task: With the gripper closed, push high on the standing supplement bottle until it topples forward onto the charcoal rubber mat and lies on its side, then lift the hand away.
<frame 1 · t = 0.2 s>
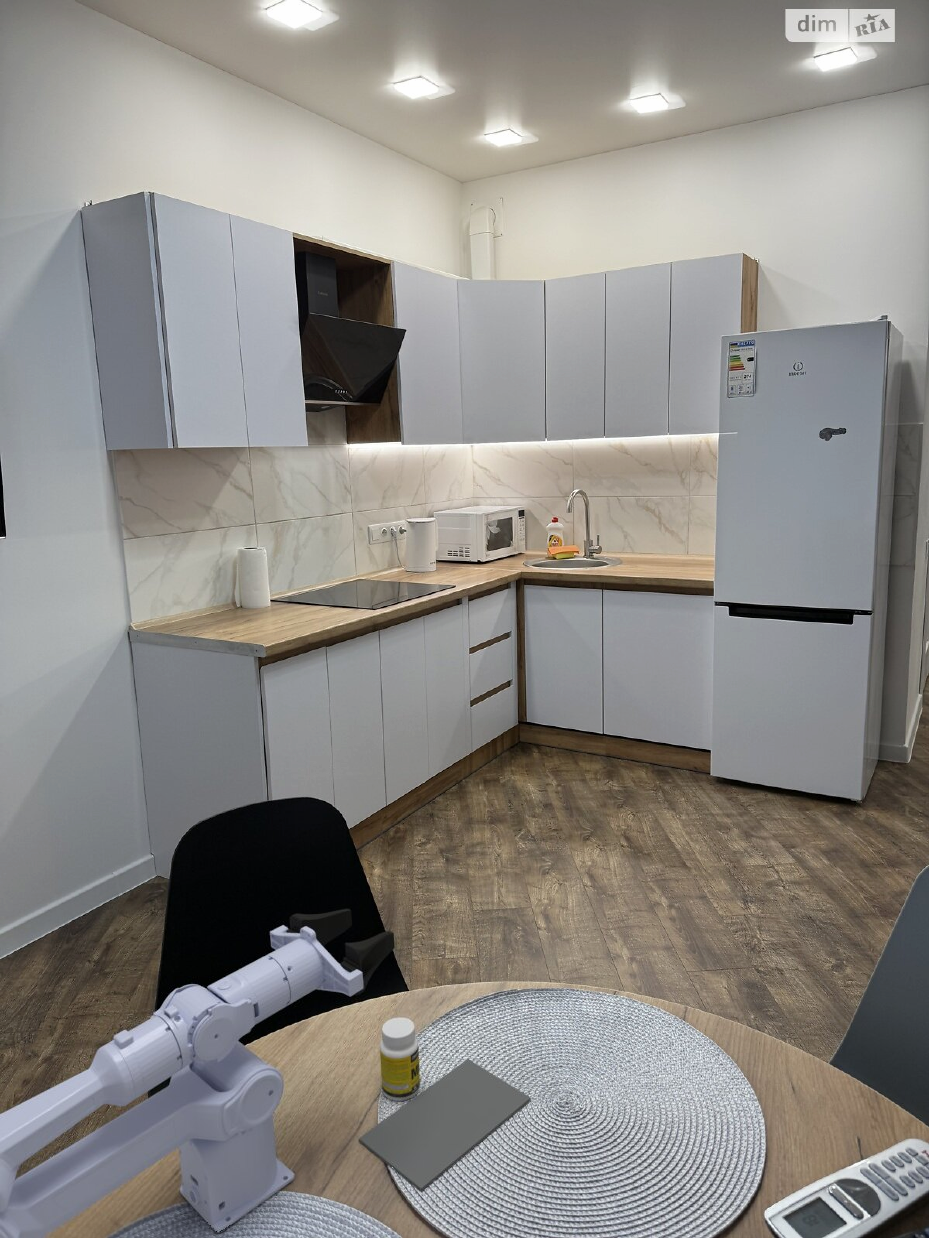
hand: (370, 927, 106), 21 cm above the table, tool horizontal, fingers open, 7 cm apart
supplement bottle: (401, 1089, 109), on the table
mat: (446, 1120, 104), on the table
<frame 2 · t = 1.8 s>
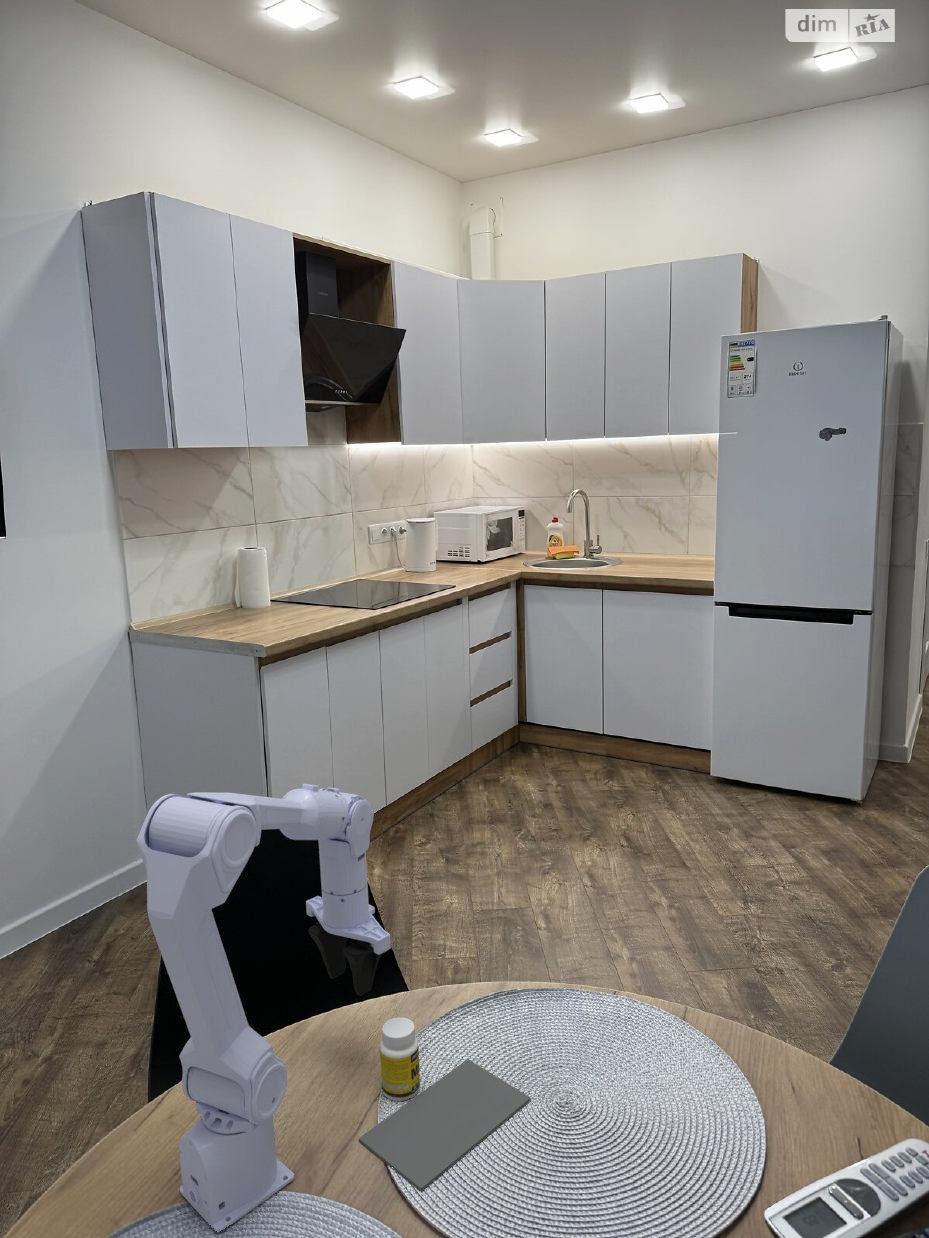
hand: (350, 983, 113), 10 cm above the table, tool pointing down, fingers open, 5 cm apart
nothing on the table moved.
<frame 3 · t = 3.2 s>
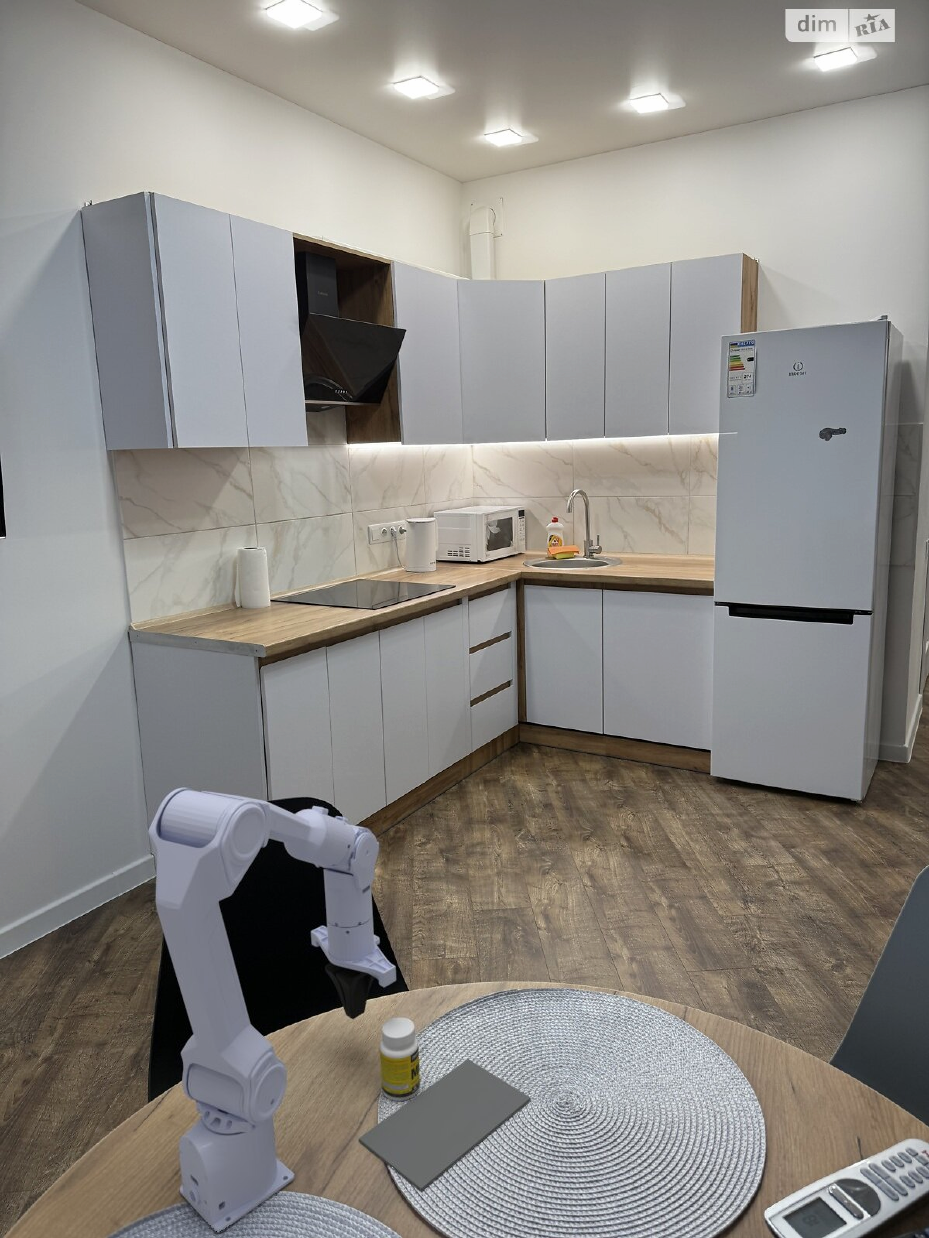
hand: (355, 1013, 114), 6 cm above the table, tool pointing down, fingers closed
nothing on the table moved.
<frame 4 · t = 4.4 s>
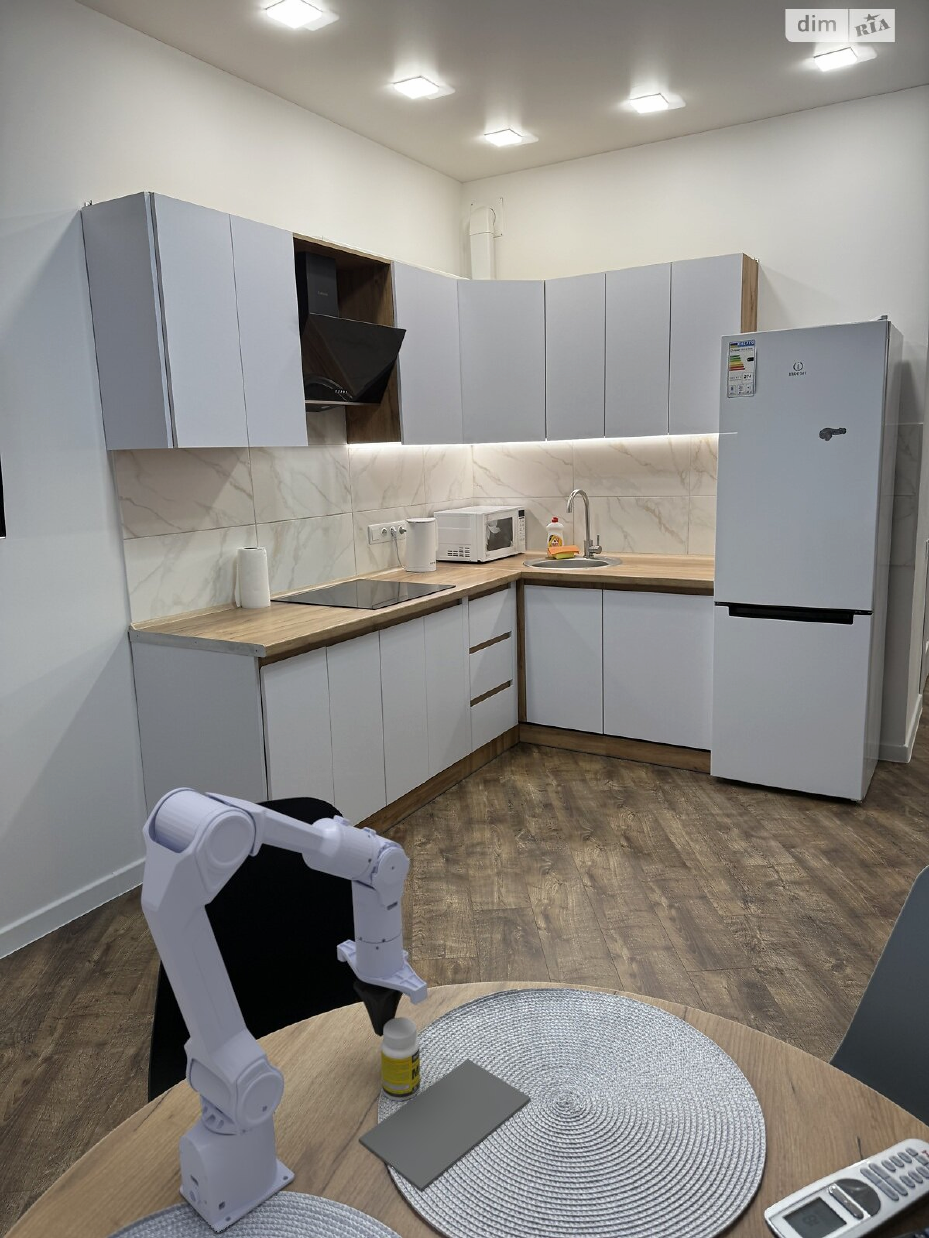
hand: (383, 1031, 110), 6 cm above the table, tool pointing down, fingers closed
supplement bottle: (401, 1089, 109), on the table, touching gripper
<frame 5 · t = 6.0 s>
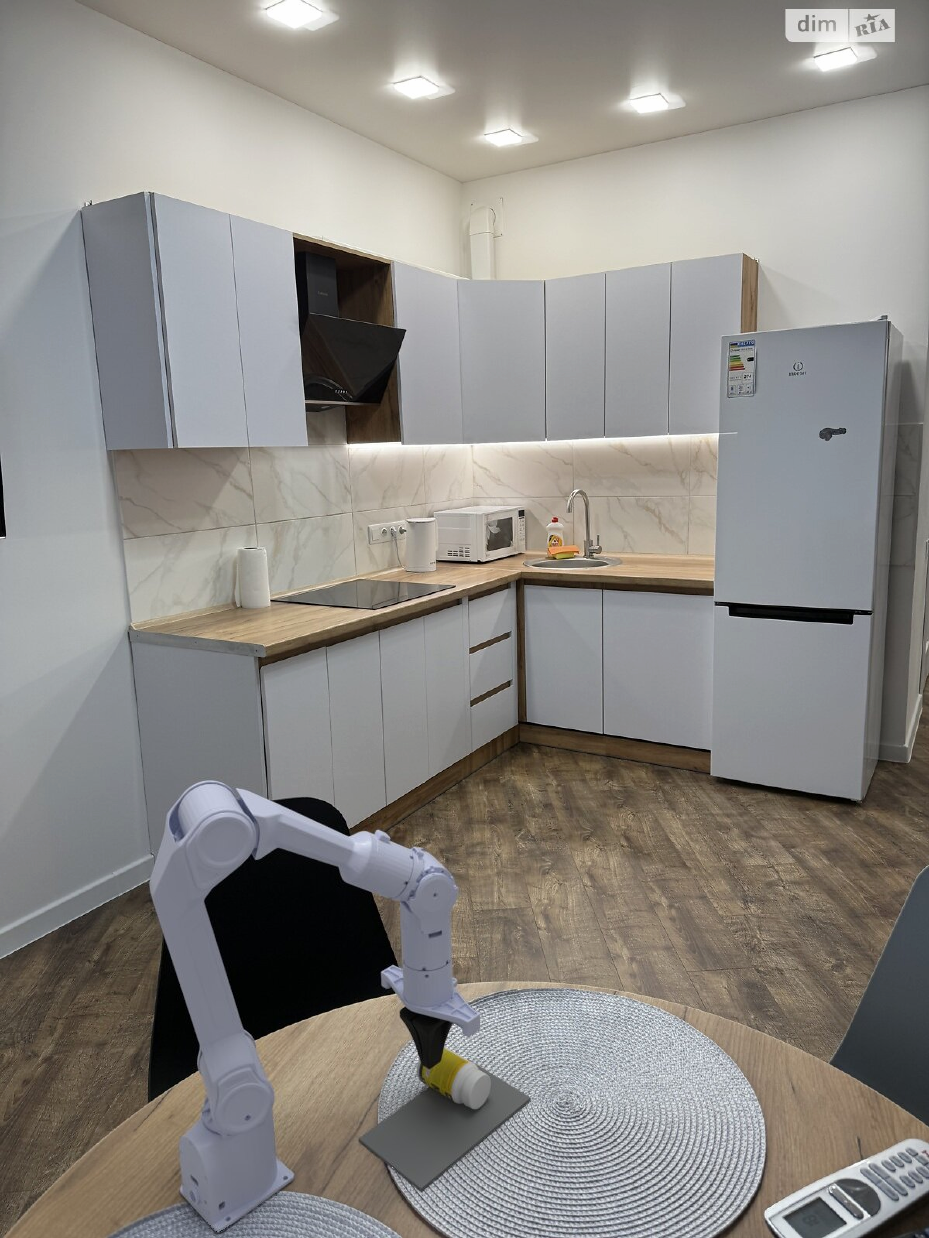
hand: (431, 1062, 104), 6 cm above the table, tool pointing down, fingers closed
supplement bottle: (427, 1060, 110), point 3 cm above the table, touching mat
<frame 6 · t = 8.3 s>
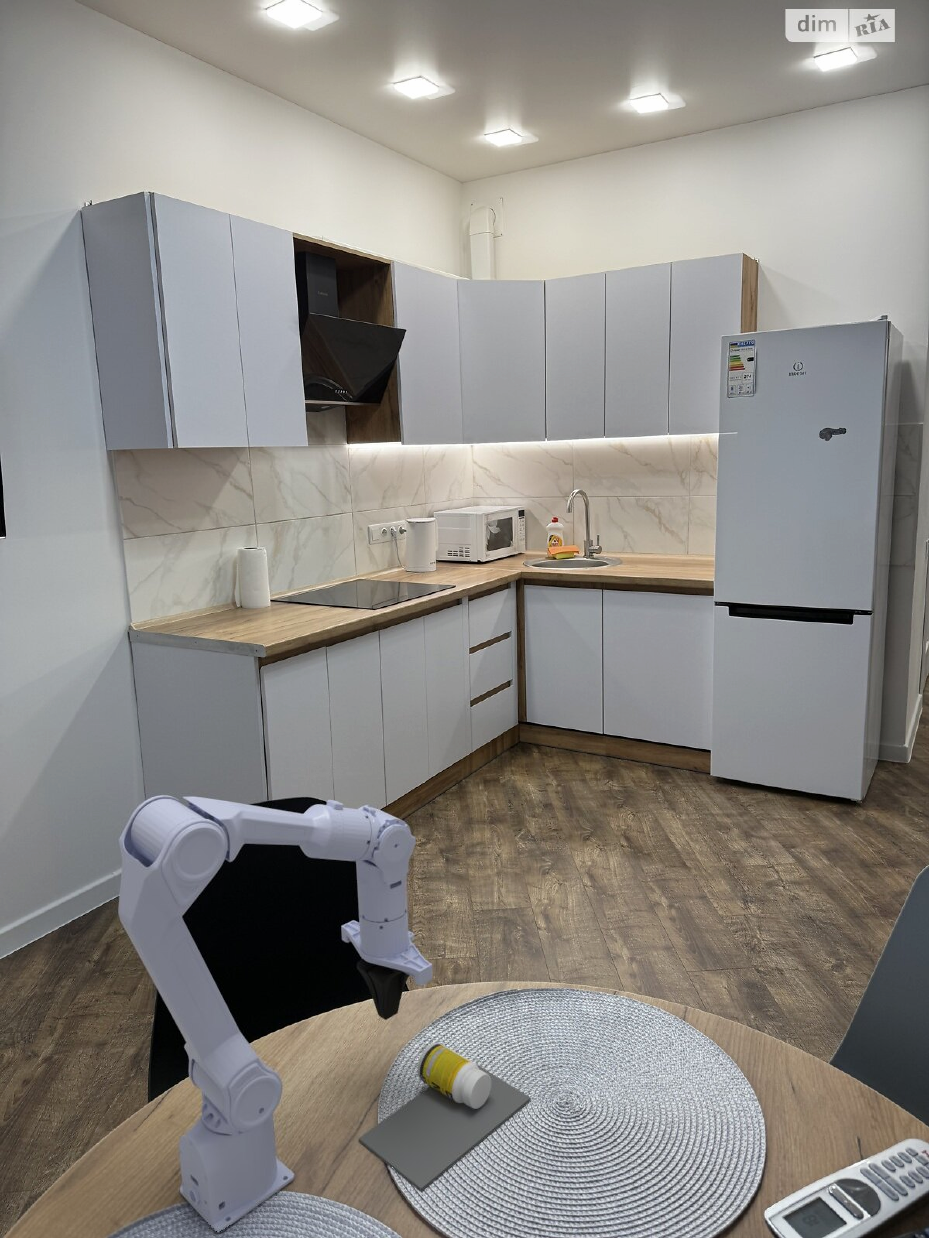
hand: (388, 1013, 107), 10 cm above the table, tool pointing down, fingers closed
nothing on the table moved.
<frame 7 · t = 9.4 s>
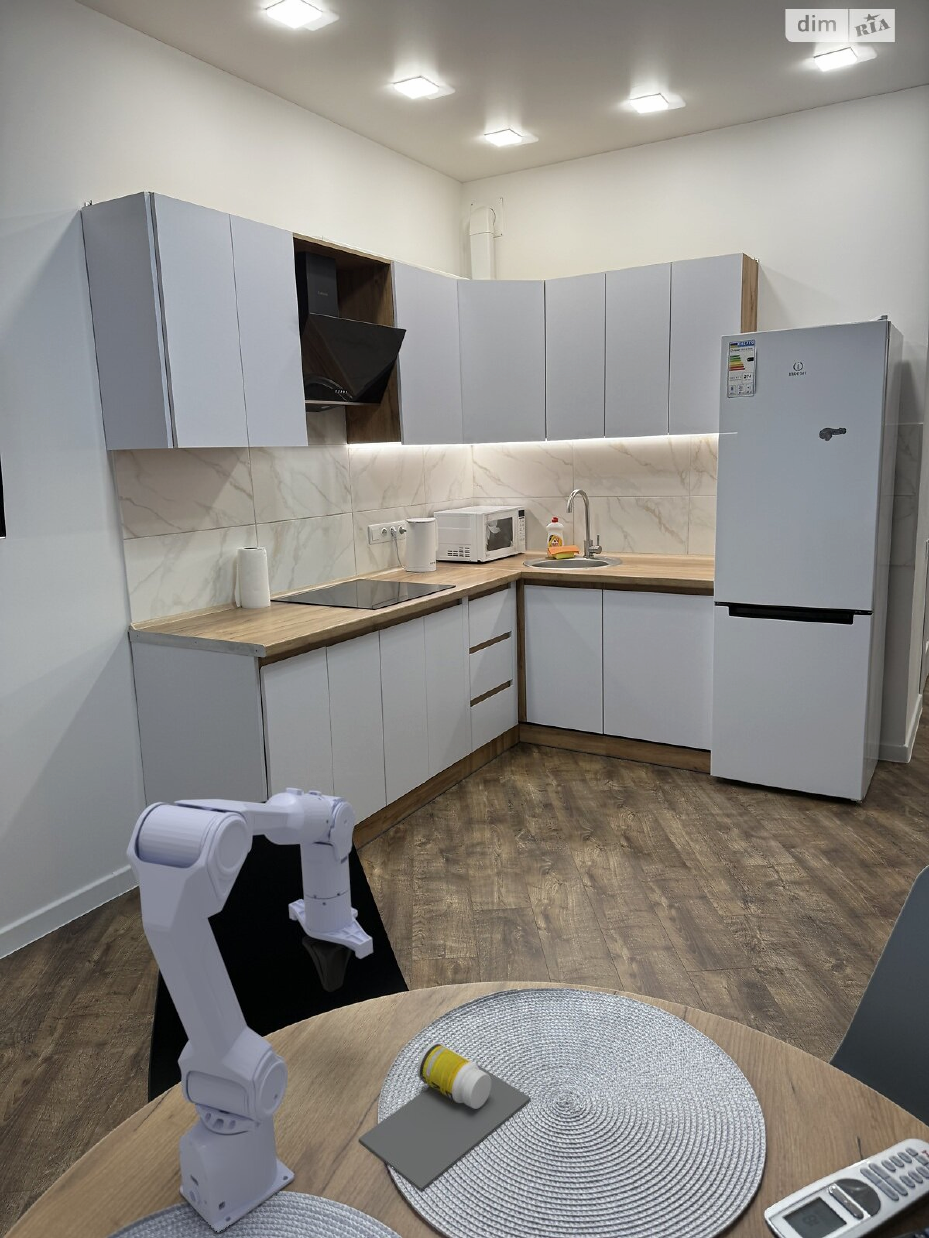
hand: (333, 986, 113), 10 cm above the table, tool pointing down, fingers closed
nothing on the table moved.
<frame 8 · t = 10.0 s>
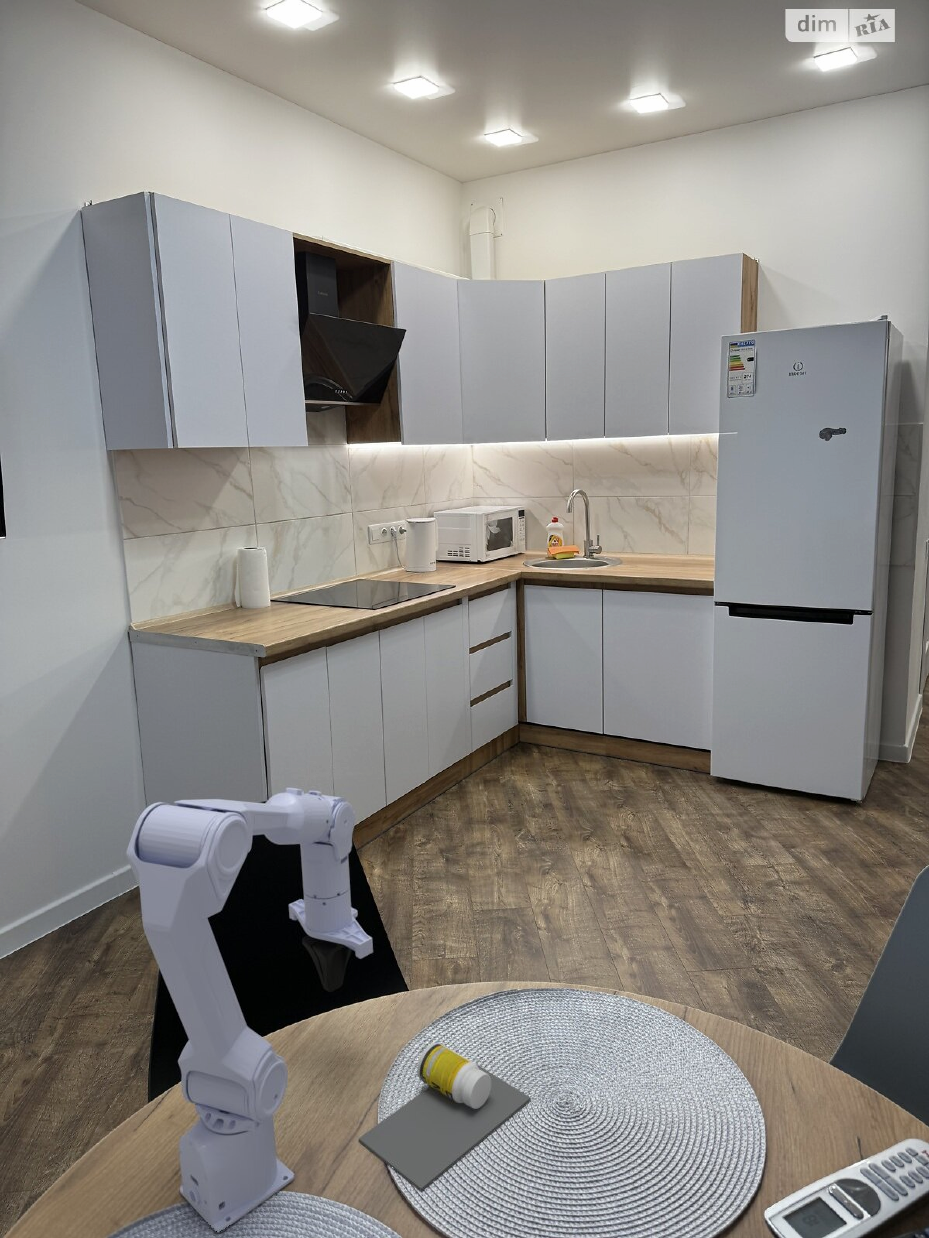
hand: (333, 986, 113), 10 cm above the table, tool pointing down, fingers closed
nothing on the table moved.
at the end: supplement bottle tilted 90°; supplement bottle inside the target area (6.4 cm from its centre), point 2.8 cm above the table; supplement bottle touching mat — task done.
